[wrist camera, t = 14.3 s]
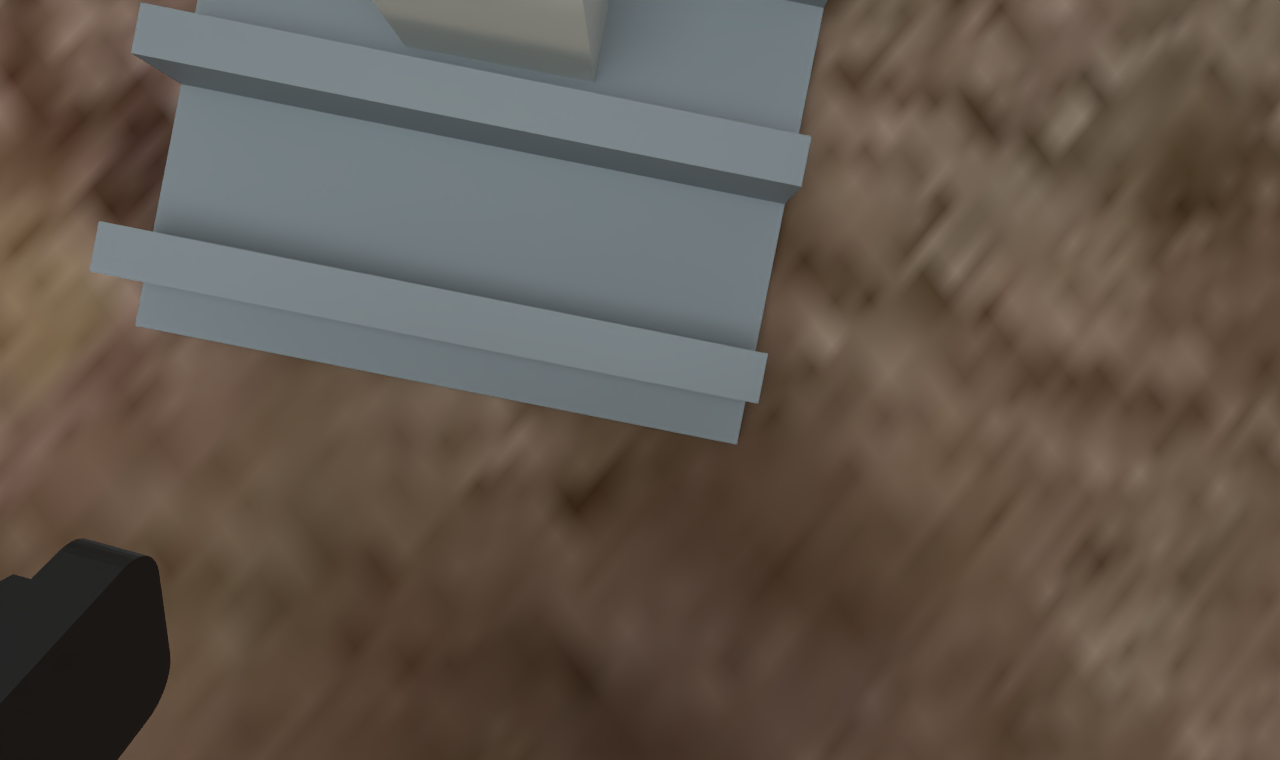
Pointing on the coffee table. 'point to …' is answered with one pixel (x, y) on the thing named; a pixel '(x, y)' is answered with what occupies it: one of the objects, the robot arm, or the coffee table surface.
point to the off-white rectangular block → (506, 31)
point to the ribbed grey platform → (481, 202)
